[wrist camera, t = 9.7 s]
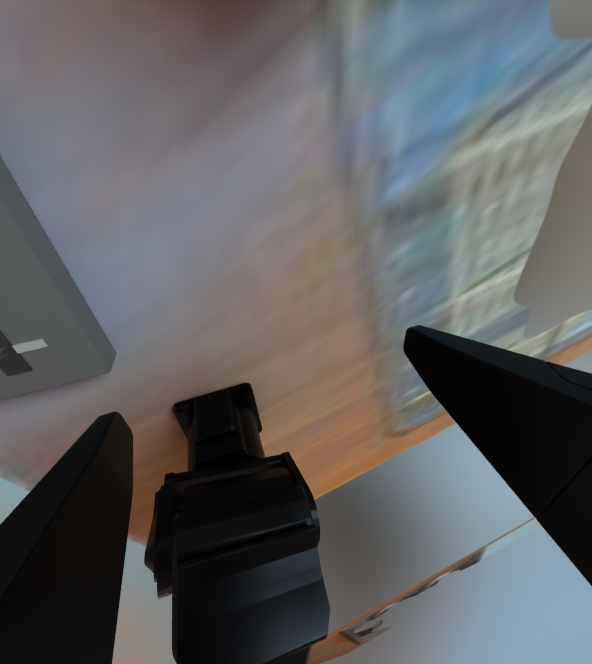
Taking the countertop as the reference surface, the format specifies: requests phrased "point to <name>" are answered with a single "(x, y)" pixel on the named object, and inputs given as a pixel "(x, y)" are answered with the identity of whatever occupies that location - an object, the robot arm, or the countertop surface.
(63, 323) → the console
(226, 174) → the countertop surface
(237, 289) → the countertop surface
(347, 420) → the countertop surface
